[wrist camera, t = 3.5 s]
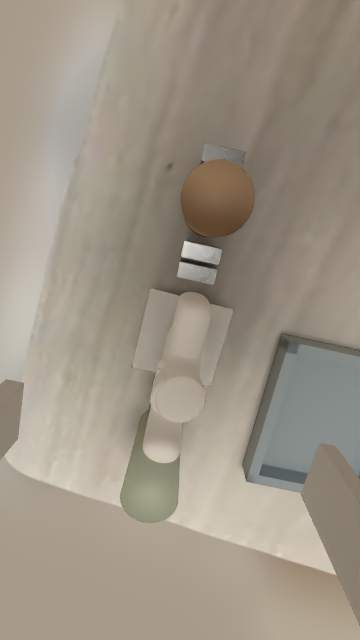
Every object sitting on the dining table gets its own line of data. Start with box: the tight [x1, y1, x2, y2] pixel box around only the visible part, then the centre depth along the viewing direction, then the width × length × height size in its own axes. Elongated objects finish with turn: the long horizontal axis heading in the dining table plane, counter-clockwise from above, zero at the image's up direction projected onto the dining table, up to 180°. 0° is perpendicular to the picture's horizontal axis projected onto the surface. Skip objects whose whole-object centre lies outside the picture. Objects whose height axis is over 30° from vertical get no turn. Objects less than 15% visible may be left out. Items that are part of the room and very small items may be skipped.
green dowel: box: [120, 411, 180, 523], centre depth 30 cm, size 4×4×10 cm
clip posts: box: [145, 143, 246, 426], centre depth 30 cm, size 30×3×5 cm, turn 168°
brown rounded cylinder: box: [181, 159, 254, 237], centre depth 25 cm, size 4×4×10 cm
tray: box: [243, 334, 360, 493], centre depth 33 cm, size 15×13×2 cm
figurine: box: [132, 288, 234, 463], centre depth 25 cm, size 7×9×15 cm
